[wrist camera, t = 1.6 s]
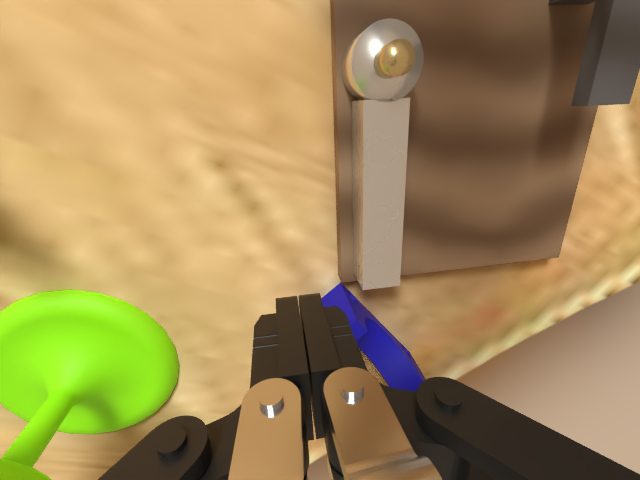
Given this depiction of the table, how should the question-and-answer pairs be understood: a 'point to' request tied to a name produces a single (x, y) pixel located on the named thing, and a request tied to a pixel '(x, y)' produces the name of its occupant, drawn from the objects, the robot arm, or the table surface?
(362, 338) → the cable clip
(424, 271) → the board
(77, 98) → the table surface
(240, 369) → the table surface
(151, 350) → the wineglass
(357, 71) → the link
